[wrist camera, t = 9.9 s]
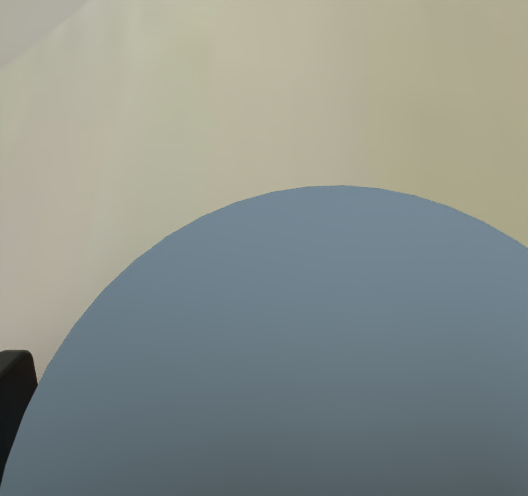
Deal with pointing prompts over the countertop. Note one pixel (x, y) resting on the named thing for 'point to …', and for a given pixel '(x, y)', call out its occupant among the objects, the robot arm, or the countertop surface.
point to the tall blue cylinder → (294, 359)
